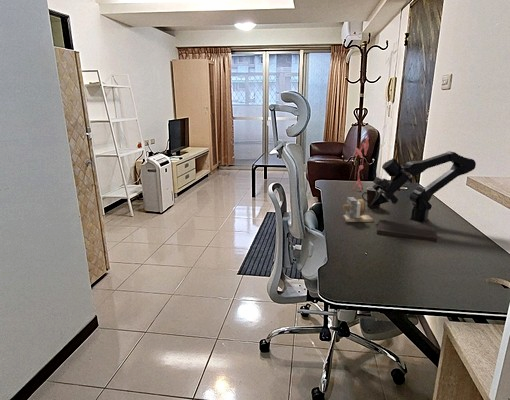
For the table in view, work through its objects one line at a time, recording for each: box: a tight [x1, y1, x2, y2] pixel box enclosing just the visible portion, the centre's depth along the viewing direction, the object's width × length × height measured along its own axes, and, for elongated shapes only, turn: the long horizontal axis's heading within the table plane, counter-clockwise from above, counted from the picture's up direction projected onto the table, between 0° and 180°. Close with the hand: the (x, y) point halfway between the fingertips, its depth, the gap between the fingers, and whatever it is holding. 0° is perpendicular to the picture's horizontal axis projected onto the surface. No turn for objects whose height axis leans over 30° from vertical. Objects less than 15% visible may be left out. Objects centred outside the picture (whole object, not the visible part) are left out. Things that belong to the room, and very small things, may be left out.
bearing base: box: [342, 196, 374, 223], centre depth 168 cm, size 12×7×10 cm, turn 91°
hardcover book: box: [376, 219, 438, 243], centre depth 153 cm, size 16×23×2 cm
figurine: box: [352, 136, 371, 191], centre depth 229 cm, size 15×26×35 cm, turn 158°
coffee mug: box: [361, 186, 381, 209], centre depth 191 cm, size 12×9×10 cm
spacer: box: [356, 202, 361, 218], centre depth 168 cm, size 2×7×7 cm, turn 1°
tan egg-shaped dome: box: [342, 198, 366, 216], centre depth 168 cm, size 9×8×8 cm
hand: (371, 205), depth 168 cm, fingers closed
